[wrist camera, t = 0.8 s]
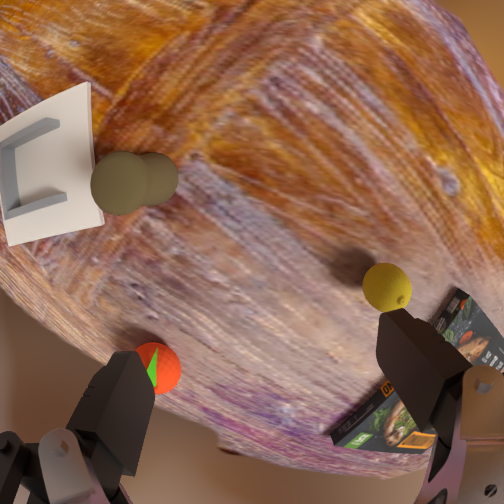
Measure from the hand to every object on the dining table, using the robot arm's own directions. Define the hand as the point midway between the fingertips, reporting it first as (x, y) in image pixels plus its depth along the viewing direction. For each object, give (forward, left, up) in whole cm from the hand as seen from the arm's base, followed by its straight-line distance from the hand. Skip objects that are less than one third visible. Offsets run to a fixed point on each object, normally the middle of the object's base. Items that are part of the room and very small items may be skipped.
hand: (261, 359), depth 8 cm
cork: (-6, -9, -24) cm, 26 cm away
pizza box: (+39, +36, -24) cm, 58 cm away
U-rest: (-11, -25, -24) cm, 36 cm away
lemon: (+9, +16, -24) cm, 30 cm away
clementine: (+16, -13, -24) cm, 31 cm away
